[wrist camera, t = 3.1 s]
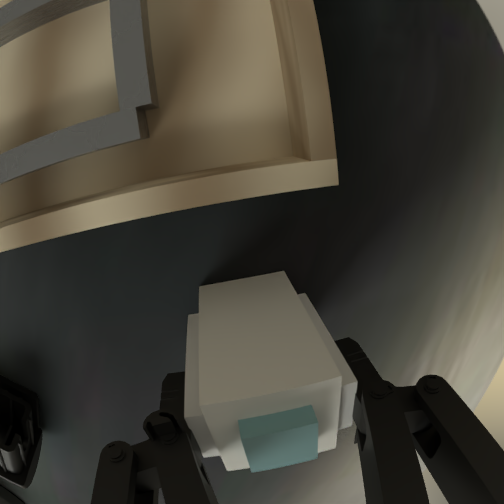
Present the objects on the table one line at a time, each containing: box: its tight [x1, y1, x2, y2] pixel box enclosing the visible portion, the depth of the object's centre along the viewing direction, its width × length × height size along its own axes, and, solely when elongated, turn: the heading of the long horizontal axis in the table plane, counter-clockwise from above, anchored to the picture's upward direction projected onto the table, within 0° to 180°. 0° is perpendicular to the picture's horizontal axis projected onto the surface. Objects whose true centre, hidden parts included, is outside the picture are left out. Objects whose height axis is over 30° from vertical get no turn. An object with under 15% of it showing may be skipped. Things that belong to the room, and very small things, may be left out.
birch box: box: [0, 0, 339, 252], centre depth 9 cm, size 24×16×4 cm, turn 98°
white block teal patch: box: [199, 271, 342, 472], centre depth 13 cm, size 4×4×9 cm
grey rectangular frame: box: [0, 0, 159, 185], centre depth 9 cm, size 11×8×2 cm
